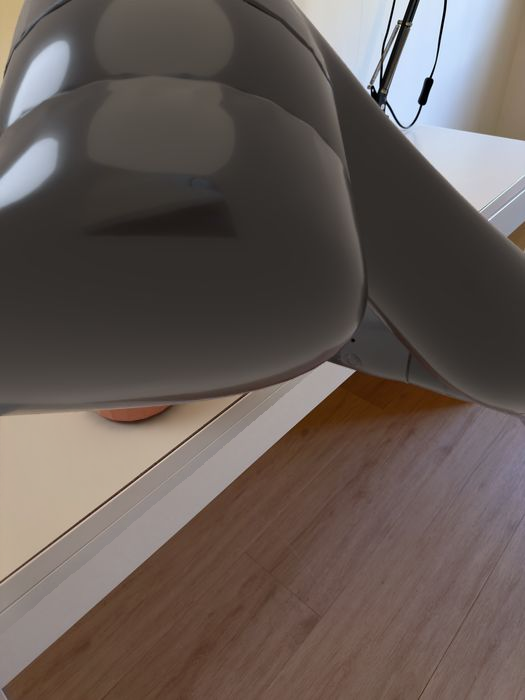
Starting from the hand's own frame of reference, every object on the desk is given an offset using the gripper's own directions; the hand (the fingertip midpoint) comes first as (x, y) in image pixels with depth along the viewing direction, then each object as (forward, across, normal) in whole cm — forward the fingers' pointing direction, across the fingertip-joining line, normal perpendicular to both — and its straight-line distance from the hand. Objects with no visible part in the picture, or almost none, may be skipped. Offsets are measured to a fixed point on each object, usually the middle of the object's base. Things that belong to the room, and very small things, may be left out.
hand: (192, 274), depth 47 cm
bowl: (+11, 0, +19) cm, 22 cm away
